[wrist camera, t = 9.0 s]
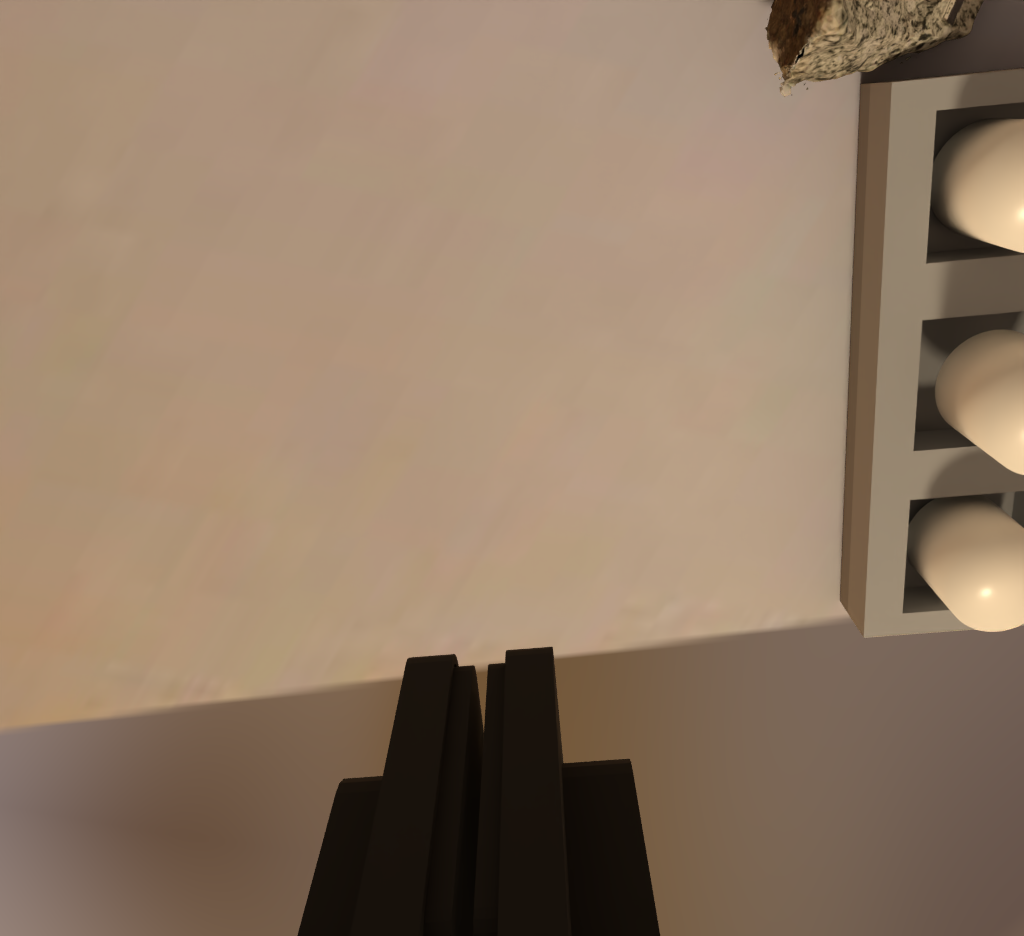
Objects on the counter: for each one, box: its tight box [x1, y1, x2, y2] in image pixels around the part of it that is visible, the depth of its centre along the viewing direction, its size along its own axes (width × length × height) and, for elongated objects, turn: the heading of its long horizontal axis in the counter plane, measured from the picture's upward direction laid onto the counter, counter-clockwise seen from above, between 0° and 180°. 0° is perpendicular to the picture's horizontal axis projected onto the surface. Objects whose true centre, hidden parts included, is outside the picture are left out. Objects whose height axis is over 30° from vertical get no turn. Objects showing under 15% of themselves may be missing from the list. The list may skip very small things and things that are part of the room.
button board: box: [840, 68, 1024, 638], centre depth 35 cm, size 21×8×3 cm, turn 5°
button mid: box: [935, 329, 1024, 475], centre depth 32 cm, size 4×4×4 cm
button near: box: [930, 118, 1024, 253], centre depth 31 cm, size 4×4×4 cm
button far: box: [907, 494, 1024, 632], centre depth 36 cm, size 4×4×4 cm
